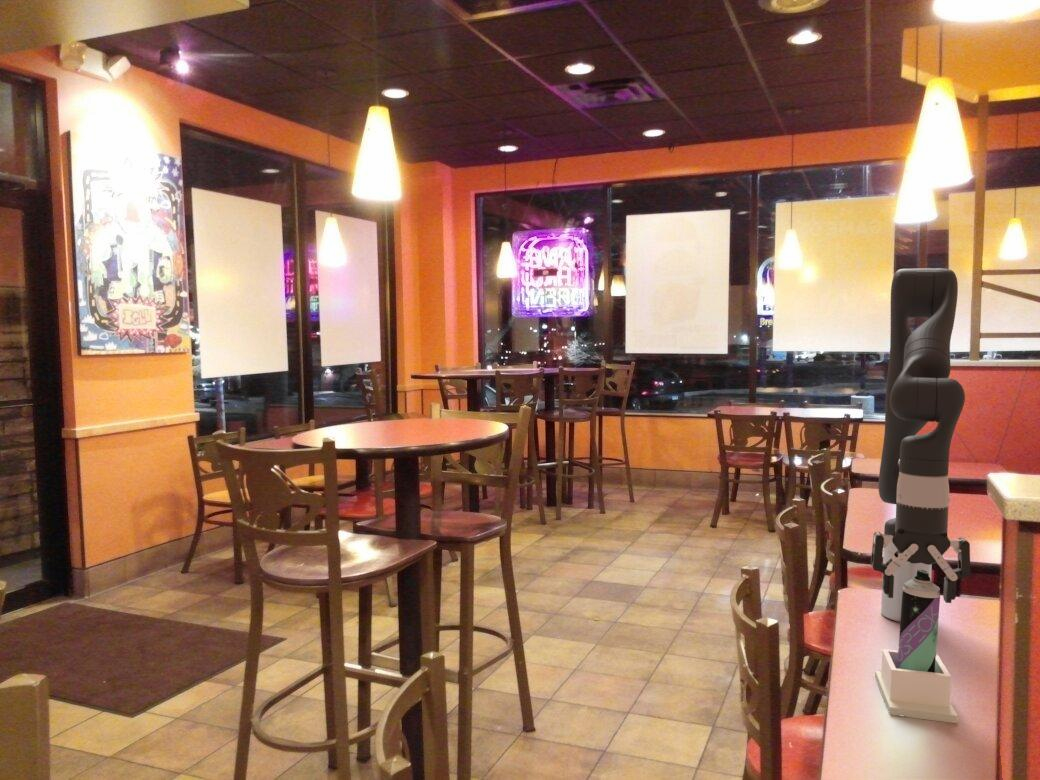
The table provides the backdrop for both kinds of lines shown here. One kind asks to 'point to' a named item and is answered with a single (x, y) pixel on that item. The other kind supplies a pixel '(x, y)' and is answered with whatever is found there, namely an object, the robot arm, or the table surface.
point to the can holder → (916, 690)
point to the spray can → (919, 624)
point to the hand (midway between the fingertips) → (917, 599)
